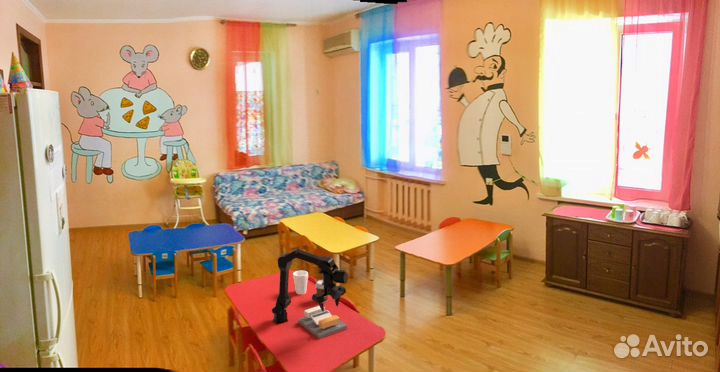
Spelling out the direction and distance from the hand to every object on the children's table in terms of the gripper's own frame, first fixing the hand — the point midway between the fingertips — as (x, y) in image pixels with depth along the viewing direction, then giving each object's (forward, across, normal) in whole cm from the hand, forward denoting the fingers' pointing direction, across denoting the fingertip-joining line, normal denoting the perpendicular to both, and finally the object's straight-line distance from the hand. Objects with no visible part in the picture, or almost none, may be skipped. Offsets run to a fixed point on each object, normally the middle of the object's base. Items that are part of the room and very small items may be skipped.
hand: (329, 308), depth 264 cm
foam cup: (+11, +13, +51) cm, 54 cm away
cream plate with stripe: (+8, -1, +7) cm, 10 cm away
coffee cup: (+12, +17, +33) cm, 39 cm away
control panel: (+12, -1, +7) cm, 14 cm away
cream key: (+8, 0, +15) cm, 17 cm away
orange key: (+9, -1, 0) cm, 9 cm away
